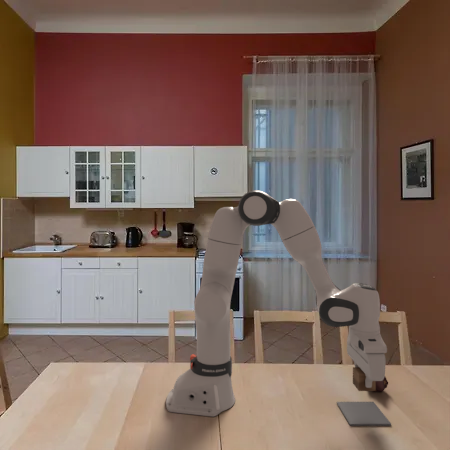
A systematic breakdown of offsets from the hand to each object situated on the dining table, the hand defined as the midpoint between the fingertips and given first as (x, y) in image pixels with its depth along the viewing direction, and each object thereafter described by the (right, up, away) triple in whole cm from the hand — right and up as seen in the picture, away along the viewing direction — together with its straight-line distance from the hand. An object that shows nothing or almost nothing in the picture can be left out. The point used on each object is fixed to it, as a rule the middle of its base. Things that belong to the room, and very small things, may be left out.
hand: (363, 381), depth 109 cm
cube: (0, -2, 0) cm, 2 cm away
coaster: (0, -10, 0) cm, 10 cm away
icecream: (+10, -10, +15) cm, 21 cm away
